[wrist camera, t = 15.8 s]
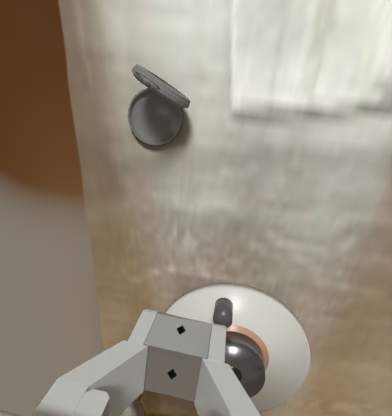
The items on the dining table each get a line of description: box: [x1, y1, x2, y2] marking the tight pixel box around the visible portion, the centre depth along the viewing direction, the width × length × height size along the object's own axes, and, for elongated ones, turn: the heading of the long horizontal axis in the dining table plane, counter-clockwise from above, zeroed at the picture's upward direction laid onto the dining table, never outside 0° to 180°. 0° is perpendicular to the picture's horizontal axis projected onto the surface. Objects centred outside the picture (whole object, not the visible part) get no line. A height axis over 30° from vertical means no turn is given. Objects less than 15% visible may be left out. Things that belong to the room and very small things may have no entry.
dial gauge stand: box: [118, 390, 146, 416], centre depth 41 cm, size 6×5×12 cm
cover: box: [225, 331, 265, 398], centre depth 39 cm, size 9×9×3 cm
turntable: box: [165, 283, 310, 412], centre depth 40 cm, size 22×22×6 cm
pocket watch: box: [128, 65, 190, 145], centre depth 30 cm, size 8×8×10 cm
